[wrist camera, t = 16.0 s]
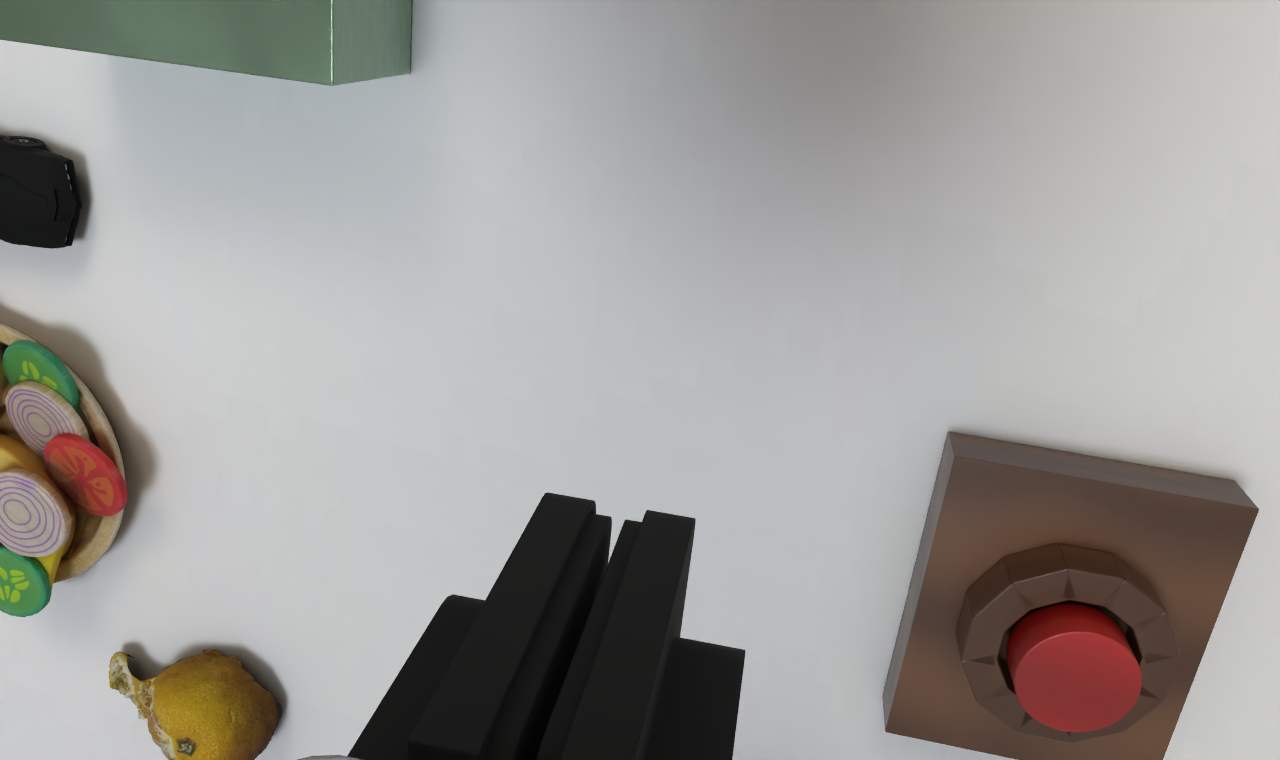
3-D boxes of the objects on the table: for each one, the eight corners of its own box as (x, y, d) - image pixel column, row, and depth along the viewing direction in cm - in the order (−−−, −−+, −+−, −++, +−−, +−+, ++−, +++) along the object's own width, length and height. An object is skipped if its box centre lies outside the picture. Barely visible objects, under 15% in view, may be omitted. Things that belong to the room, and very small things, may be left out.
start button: (1021, 592, 34) (1030, 621, 33) (1142, 615, 34) (1158, 645, 32) (993, 687, 36) (1001, 718, 34) (1109, 710, 35) (1122, 743, 34)
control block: (947, 431, 37) (961, 478, 33) (1235, 480, 35) (1282, 535, 32) (882, 696, 41) (887, 764, 37) (1135, 748, 40) (1167, 824, 36)
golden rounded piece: (97, 656, 48) (42, 706, 45) (228, 604, 45) (180, 653, 42) (193, 789, 50) (147, 846, 47) (323, 746, 47) (285, 803, 44)
